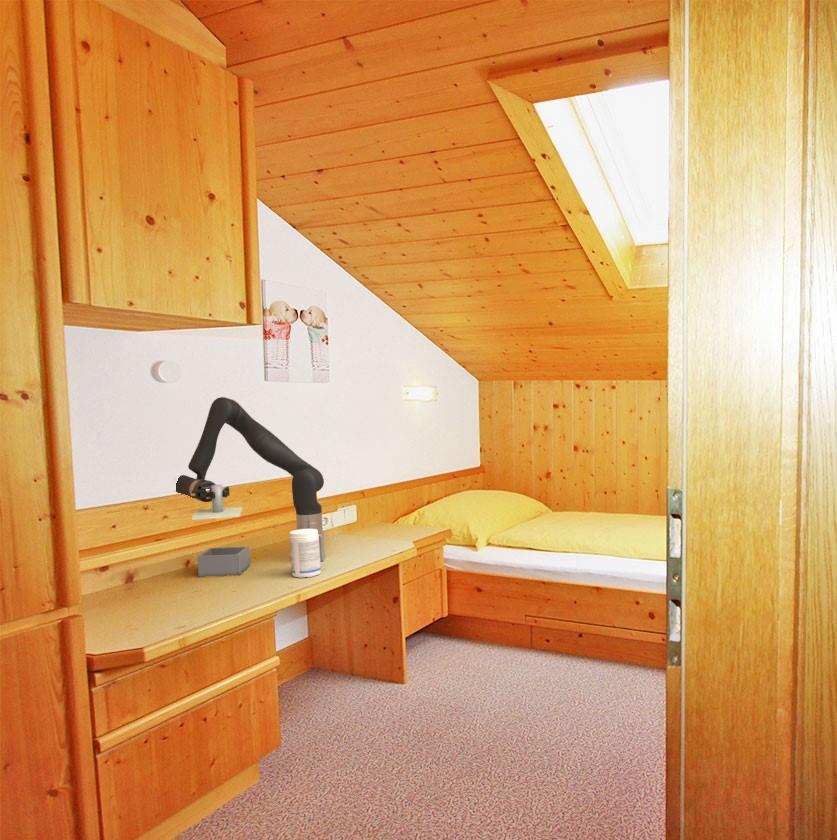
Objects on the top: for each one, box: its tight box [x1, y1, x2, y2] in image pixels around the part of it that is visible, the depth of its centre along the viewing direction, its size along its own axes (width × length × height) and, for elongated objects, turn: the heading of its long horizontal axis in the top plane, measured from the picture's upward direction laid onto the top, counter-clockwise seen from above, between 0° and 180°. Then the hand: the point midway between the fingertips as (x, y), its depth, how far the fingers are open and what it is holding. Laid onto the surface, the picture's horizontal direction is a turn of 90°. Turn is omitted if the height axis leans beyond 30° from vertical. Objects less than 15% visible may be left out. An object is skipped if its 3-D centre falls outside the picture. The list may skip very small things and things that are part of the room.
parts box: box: [197, 546, 251, 578], centre depth 249 cm, size 14×14×7 cm
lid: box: [191, 484, 243, 521], centre depth 243 cm, size 15×15×10 cm
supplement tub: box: [289, 529, 322, 579], centre depth 239 cm, size 10×10×15 cm
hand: (220, 494), depth 240 cm, fingers closed on lid, 3 cm apart
